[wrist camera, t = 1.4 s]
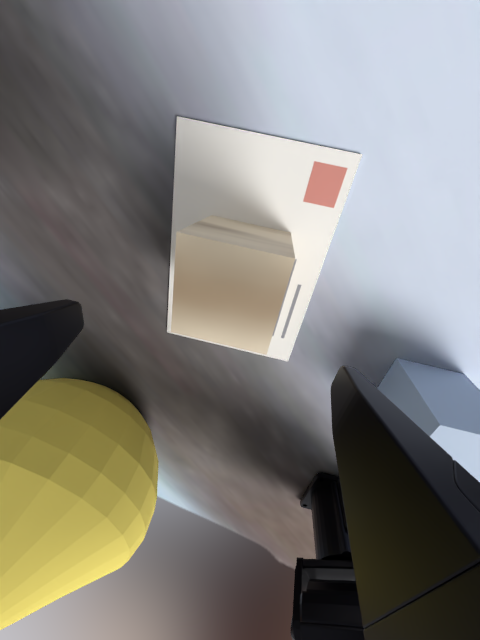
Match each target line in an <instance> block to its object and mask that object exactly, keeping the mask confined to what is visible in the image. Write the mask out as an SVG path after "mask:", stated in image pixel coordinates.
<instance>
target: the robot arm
mask: <svg viewBox="0 0 480 640" xmlns="http://www.w3.org/2000/svg"><path fill="white" fill-rule="evenodd" d="M83 326H84V320H83V313H82V307H81V304H80V303H79V302H76V301H72V300H68V299H65V300H59V301H53V302H47V303H40V304H34V305H28V306H22V307H16V308H9V309H3V310H0V419H1V418H2V417H3V416H4V415H5V414H6V413H7V412H8V411H9V410H10V409H11V408H12V407H13V406H14V405H15V404H16V403H17V402H18V401H19V400H20V399H21V398H22V397H23V396H24V395H25V394H26V393H27V392H28V391H29V390H30V389H31V388H32V387H33V386H34V385H35V384H36V383H37V381H38V380H39V379H40V378H41V377H42V376H43V375H44V374H45V373H46V372H47V371H48V370H49V369H50V368H51V367H52V366H53V365H54V364H55V363H56V361H57V360H58V359H59V358H60V357H61V355H62V354H63V353H64V352H65V350H66V349H67V348H68V347H69V345H70V344H71V343H72V342H73V340H74V339H75V338H76V337H77V335H78V334H79V333H80V331H81V330H82V328H83ZM331 409H332V431H333V439H334V446H335V452H336V459H337V465H338V471H339V477H336V476H332V475H328V474H324V473H318V474H316V476H315V478H314V479H313V481H312V482H311V484H310V486H309V487H308V489H307V491H306V492H305V494H304V496H303V497H302V499H301V501H300V505H301V507H303V508H307V509H311V510H312V518H313V529H314V540H315V551H316V559H303V558H297V565H296V568H295V584H294V602H293V616H292V623H291V636H292V639H293V640H480V482H479V481H478V480H477V479H475V478H474V477H473V476H472V475H471V474H470V473H469V472H468V471H467V470H466V469H464V468H463V467H462V466H461V465H460V464H459V463H458V462H457V461H456V460H453V458H452V457H451V456H450V455H449V454H448V453H447V452H446V451H445V450H444V449H443V448H442V447H440V446H439V445H438V444H437V443H436V442H435V441H434V440H433V439H432V438H431V437H430V436H428V435H427V434H426V433H425V432H424V431H423V430H422V429H421V428H420V427H419V426H418V425H417V424H415V423H414V422H413V421H412V420H411V419H410V418H409V417H408V416H407V415H406V414H405V413H403V412H402V411H401V410H400V409H399V408H398V407H397V406H396V405H395V404H394V403H393V402H391V401H390V400H389V399H388V398H387V397H386V396H385V395H384V394H383V393H382V392H381V391H379V390H378V389H377V388H376V387H375V386H374V385H373V384H372V383H371V382H370V381H369V380H367V379H366V378H365V377H364V376H363V375H362V374H361V373H360V372H359V371H358V370H357V369H355V368H353V367H349V366H344V365H343V366H341V367H340V369H339V370H338V372H337V374H336V376H335V378H334V380H333V382H332V385H331Z"/></svg>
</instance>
